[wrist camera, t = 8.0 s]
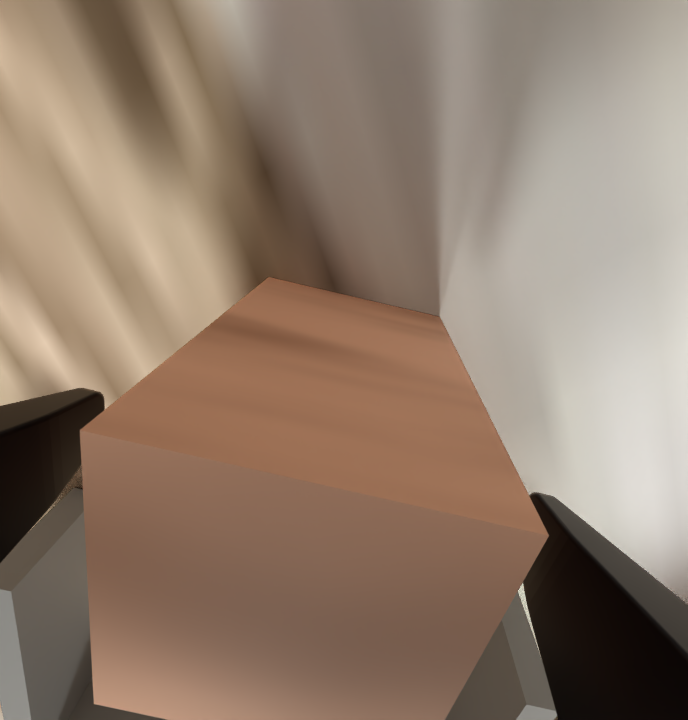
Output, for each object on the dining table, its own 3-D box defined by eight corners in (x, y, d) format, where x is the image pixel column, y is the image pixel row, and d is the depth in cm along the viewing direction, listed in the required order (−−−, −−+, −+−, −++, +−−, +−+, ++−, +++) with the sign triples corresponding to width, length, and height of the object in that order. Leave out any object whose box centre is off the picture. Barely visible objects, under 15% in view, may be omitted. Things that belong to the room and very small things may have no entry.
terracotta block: (394, 456, 14) (415, 772, 6) (247, 423, 14) (94, 703, 6) (439, 316, 12) (549, 536, 4) (268, 276, 12) (78, 429, 4)
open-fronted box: (429, 740, 20) (441, 866, 16) (83, 665, 19) (15, 776, 16) (516, 587, 15) (560, 711, 12) (73, 487, 15) (-25, 583, 11)
